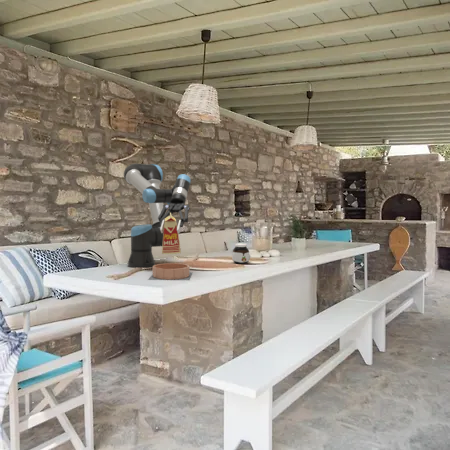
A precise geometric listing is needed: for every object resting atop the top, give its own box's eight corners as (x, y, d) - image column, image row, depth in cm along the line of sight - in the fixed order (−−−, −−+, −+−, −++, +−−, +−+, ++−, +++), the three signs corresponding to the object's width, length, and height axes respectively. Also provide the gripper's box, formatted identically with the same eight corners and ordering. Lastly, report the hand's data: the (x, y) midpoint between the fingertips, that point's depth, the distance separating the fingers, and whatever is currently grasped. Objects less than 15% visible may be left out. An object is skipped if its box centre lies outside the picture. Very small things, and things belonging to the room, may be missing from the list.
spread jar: (233, 264, 262) (233, 244, 261) (230, 261, 273) (230, 242, 272) (253, 264, 263) (253, 244, 263) (249, 261, 275) (249, 242, 274)
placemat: (147, 280, 210) (147, 279, 210) (154, 272, 230) (154, 272, 230) (189, 281, 210) (189, 280, 210) (192, 273, 230) (192, 272, 230)
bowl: (150, 279, 211) (150, 269, 211) (156, 272, 229) (156, 263, 229) (187, 279, 211) (187, 269, 211) (190, 273, 229) (190, 263, 229)
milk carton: (162, 252, 223) (161, 212, 222) (180, 251, 224) (179, 212, 222) (161, 254, 214) (160, 213, 213) (180, 253, 215) (179, 213, 213)
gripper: (199, 203, 231) (191, 236, 216) (161, 202, 234) (151, 235, 220) (196, 193, 225) (188, 226, 210) (158, 192, 229) (147, 225, 214)
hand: (169, 231), depth 215 cm, fingers closed on milk carton, 8 cm apart
